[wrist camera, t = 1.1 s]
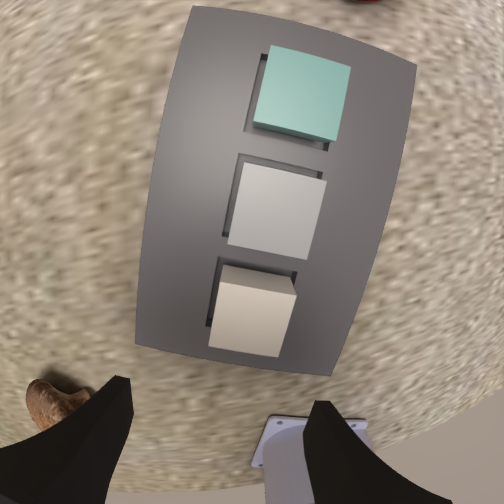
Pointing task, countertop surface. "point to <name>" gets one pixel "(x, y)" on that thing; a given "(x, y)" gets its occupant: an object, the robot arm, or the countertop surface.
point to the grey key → (276, 210)
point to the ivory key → (252, 311)
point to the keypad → (272, 155)
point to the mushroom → (51, 403)
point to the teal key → (302, 95)
